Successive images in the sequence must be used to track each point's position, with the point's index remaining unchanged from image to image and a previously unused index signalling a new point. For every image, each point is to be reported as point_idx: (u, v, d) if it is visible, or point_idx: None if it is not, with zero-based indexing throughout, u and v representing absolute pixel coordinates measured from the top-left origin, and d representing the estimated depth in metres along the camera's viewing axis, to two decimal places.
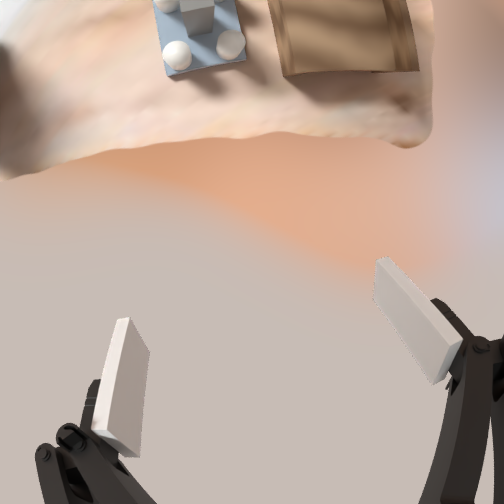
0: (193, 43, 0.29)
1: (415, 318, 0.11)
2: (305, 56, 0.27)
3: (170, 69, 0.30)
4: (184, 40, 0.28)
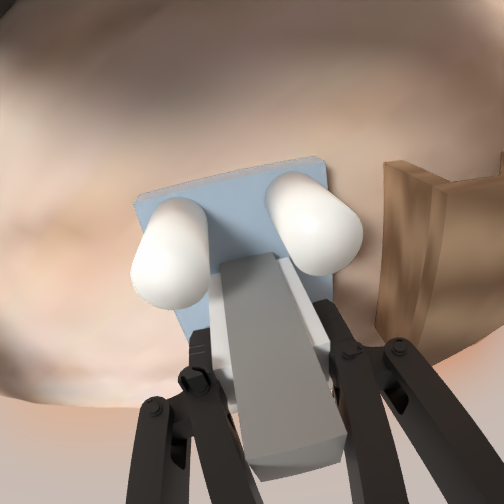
0: None
1: None
2: (427, 355, 0.17)
3: None
4: None
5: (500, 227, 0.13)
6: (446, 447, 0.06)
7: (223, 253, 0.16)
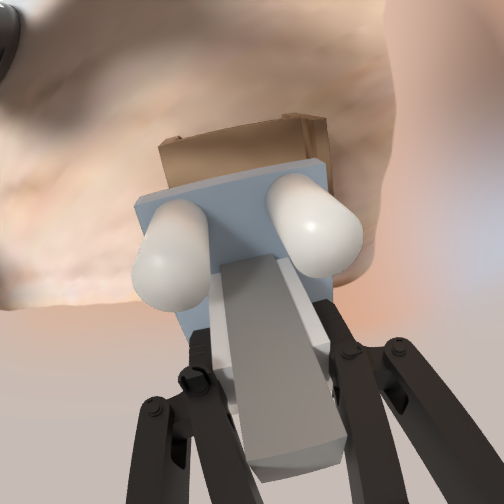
0: None
1: None
2: None
3: None
4: None
5: (221, 160, 0.27)
6: (446, 447, 0.06)
7: (223, 254, 0.16)
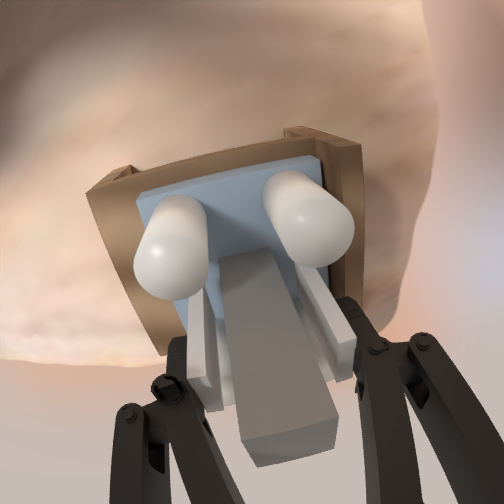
0: None
1: (318, 314, 0.13)
2: (167, 337, 0.21)
3: None
4: (222, 304, 0.19)
5: None
6: (462, 443, 0.06)
7: (221, 248, 0.17)
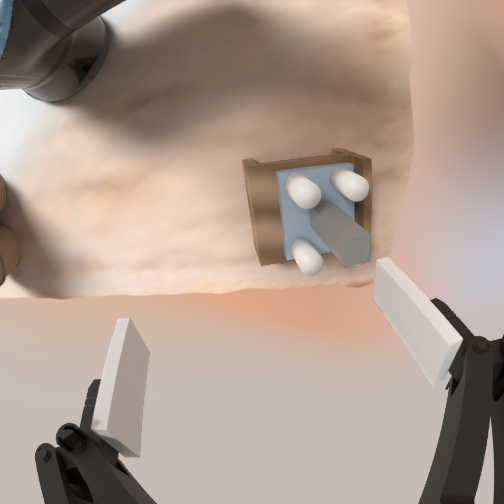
0: (313, 232, 0.39)
1: (415, 318, 0.11)
2: (269, 252, 0.41)
3: (290, 255, 0.40)
4: (306, 228, 0.38)
5: None
6: None
7: None
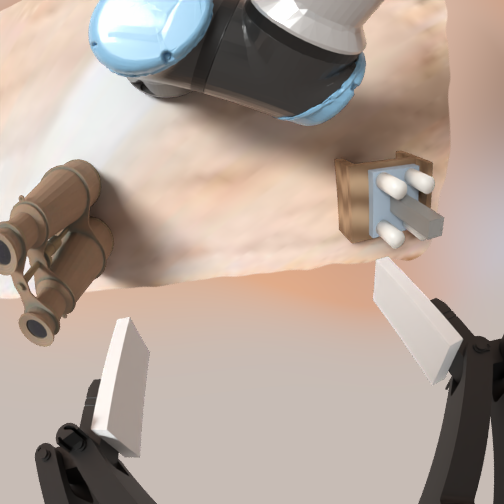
0: (392, 216, 0.47)
1: (415, 318, 0.11)
2: (359, 232, 0.50)
3: (375, 234, 0.49)
4: (387, 213, 0.47)
5: None
6: None
7: None
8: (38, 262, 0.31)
